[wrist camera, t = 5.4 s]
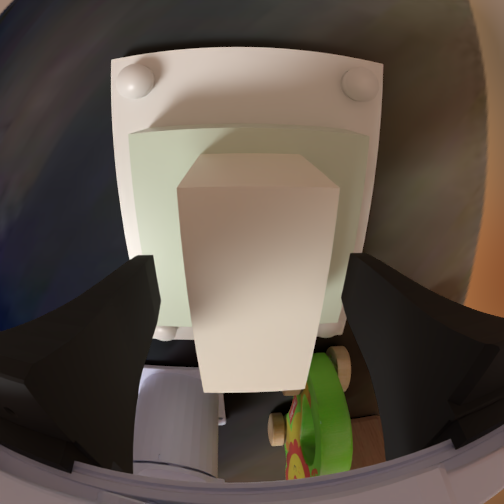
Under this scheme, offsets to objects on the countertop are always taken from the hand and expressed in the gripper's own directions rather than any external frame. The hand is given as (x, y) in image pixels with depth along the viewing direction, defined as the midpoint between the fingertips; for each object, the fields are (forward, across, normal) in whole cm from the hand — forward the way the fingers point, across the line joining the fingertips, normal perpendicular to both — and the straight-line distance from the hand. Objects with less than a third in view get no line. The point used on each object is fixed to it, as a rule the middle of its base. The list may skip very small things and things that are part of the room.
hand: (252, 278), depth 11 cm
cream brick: (+3, 0, 0) cm, 3 cm away
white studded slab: (+7, 0, 0) cm, 7 cm away
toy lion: (+7, -5, +18) cm, 20 cm away
